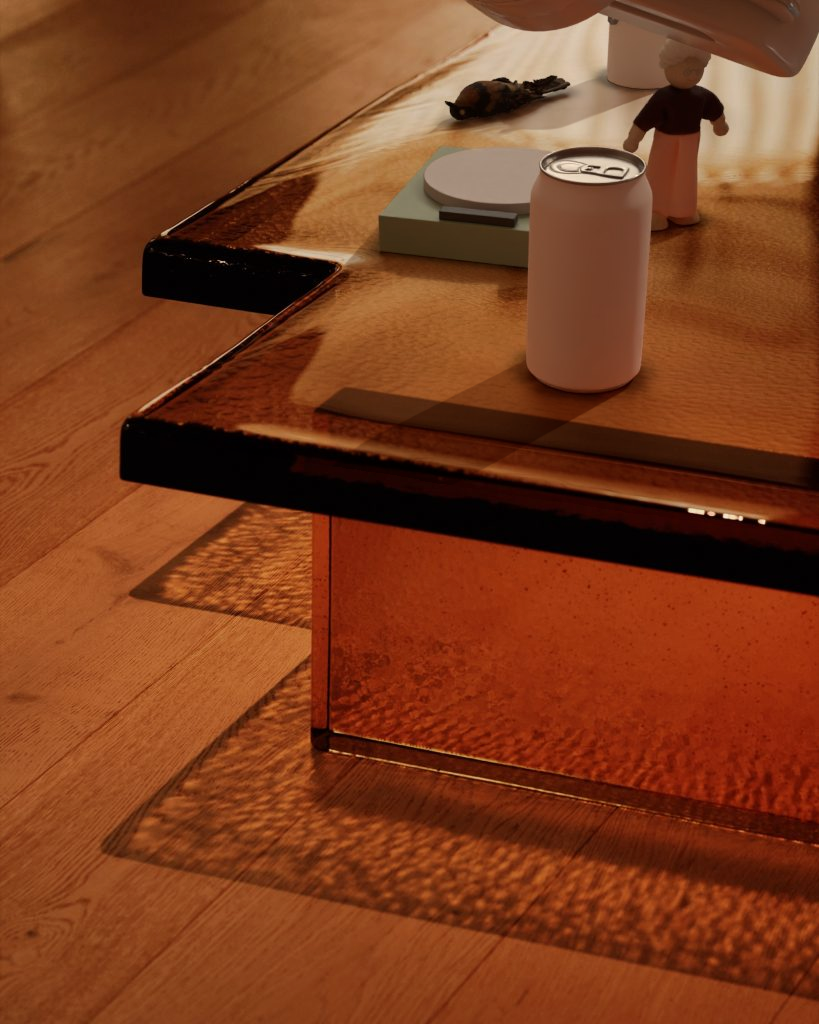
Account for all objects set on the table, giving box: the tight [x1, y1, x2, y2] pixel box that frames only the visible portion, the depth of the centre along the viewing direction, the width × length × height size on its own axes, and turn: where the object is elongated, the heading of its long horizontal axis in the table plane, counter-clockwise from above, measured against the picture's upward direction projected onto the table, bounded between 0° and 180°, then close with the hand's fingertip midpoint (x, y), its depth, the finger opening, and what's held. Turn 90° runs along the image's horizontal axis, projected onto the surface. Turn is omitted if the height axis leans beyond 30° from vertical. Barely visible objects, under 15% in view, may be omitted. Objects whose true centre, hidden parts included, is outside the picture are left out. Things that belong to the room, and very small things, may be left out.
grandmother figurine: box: [622, 39, 730, 232], centre depth 106 cm, size 8×4×13 cm, turn 123°
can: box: [525, 145, 652, 394], centre depth 87 cm, size 6×6×12 cm
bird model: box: [444, 74, 571, 121], centre depth 129 cm, size 3×14×3 cm, turn 125°
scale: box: [377, 145, 552, 269], centre depth 108 cm, size 13×14×3 cm
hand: (636, 0), depth 74 cm, fingers open, 8 cm apart
